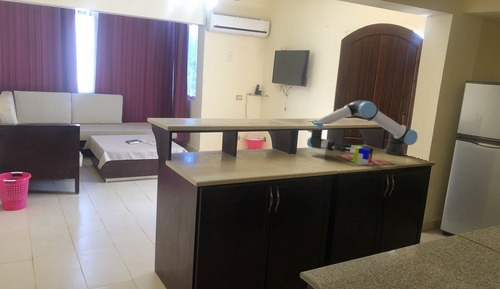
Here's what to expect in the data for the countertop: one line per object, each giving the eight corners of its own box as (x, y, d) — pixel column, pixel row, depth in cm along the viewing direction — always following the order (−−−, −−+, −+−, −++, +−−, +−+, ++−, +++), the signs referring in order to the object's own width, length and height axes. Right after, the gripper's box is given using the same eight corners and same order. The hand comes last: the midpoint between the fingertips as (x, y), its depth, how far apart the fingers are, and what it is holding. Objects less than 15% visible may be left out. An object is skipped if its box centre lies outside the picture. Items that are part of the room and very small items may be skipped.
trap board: (369, 155, 299) (370, 154, 299) (394, 164, 272) (394, 164, 272) (336, 155, 290) (336, 155, 290) (358, 165, 263) (358, 164, 263)
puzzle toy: (366, 164, 265) (368, 150, 263) (352, 161, 270) (354, 147, 268) (371, 162, 273) (372, 148, 271) (357, 159, 279) (358, 146, 277)
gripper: (333, 147, 293) (361, 152, 283) (322, 152, 272) (352, 157, 262) (334, 138, 292) (362, 142, 282) (323, 142, 270) (353, 146, 260)
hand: (357, 149), depth 271 cm, fingers open, 13 cm apart
